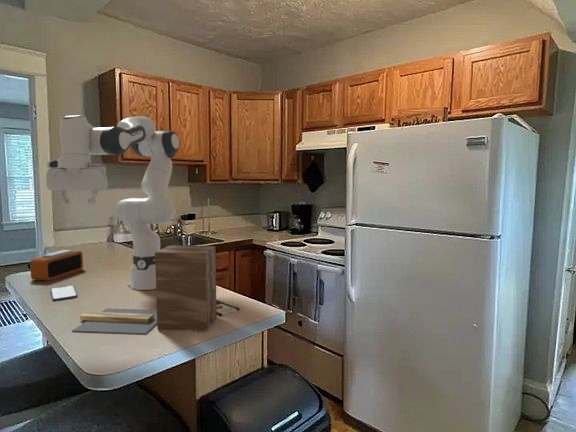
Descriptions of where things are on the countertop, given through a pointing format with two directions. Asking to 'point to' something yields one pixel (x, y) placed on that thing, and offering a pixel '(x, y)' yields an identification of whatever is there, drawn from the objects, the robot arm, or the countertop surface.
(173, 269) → the walnut shelf
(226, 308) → the chocolate bar
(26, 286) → the countertop surface
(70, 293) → the phone case
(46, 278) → the alarm clock
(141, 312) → the rubber mat
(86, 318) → the ochre block
